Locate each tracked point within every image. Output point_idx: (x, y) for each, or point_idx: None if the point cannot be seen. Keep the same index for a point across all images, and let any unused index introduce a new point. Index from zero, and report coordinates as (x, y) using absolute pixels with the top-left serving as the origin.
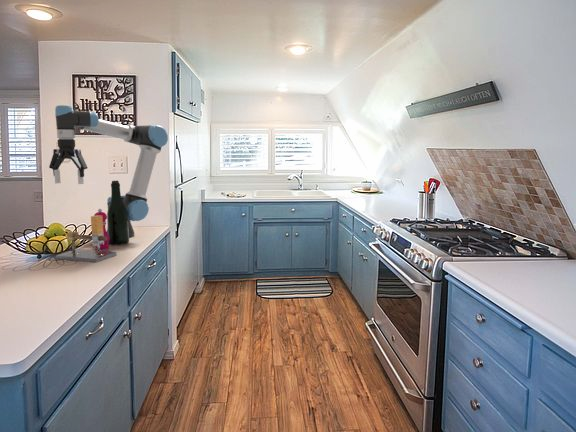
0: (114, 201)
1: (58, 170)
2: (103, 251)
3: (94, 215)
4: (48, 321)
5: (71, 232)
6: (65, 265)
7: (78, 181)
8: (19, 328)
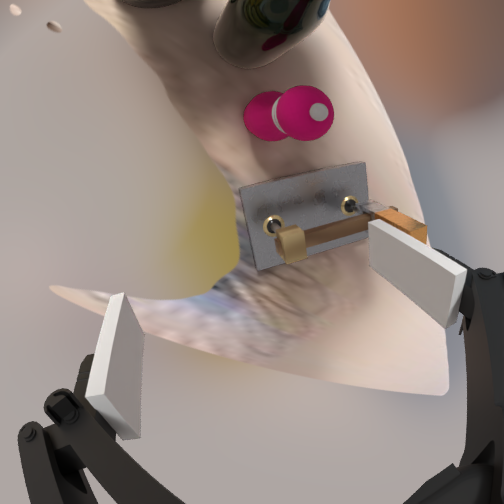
0: (320, 2)
1: (116, 400)
2: (333, 173)
3: (299, 136)
4: (438, 371)
5: (289, 248)
6: (328, 284)
7: (385, 275)
8: (427, 387)
